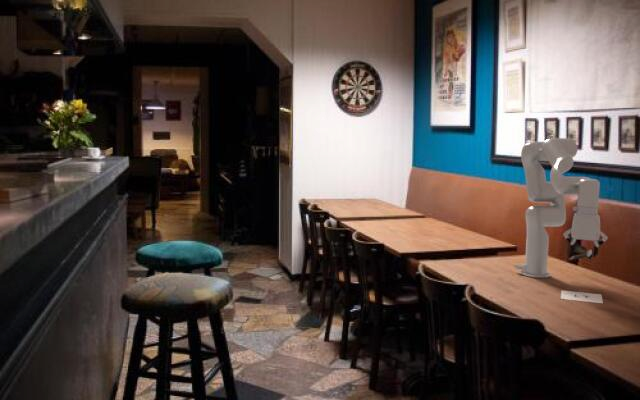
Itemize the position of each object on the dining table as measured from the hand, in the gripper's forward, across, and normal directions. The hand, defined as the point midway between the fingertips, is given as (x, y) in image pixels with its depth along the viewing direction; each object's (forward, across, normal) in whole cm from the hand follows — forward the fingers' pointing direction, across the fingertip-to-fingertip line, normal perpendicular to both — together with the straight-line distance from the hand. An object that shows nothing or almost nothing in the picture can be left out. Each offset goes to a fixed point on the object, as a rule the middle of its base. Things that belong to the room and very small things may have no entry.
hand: (583, 255), depth 248 cm
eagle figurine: (+3, -1, +1) cm, 3 cm away
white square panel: (+17, 0, 0) cm, 17 cm away
